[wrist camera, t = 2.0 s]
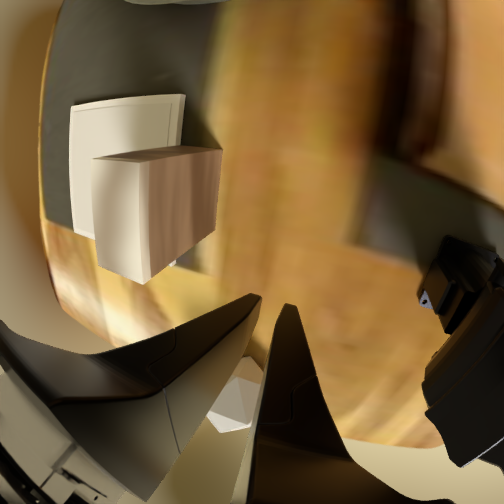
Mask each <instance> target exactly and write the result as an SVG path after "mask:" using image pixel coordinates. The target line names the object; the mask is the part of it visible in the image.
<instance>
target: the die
mask: <svg viewBox="0 0 504 504" xmlns="http://www.w3.org/2000/svg"><path fill="white" fill-rule="evenodd" d="M262 377H263V371H262V370H261V369H260V367H259V366H258V365H257V364H256V362H255V361H254V360H253V359H252V357H251V356H249V357H243V358H241V360H240V362H239V363H238V365H237V367H236V368H235V370H234V372H233V373H232V375H231V377H230V378H229V380H228V382H227V383H226V385H225V386H224V388H223V390H222V391H221V393H220V394H219V396H218V398H217V399H216V401H215V402H214V404H213V406H212V407H211V409H210V410H209V412H208V413H207V415H206V416H207V417H208V419H209V420H210V421H211V422H212V424H213V425H214V426H215V427H216V429H217V430H218V431H219V432H220V433H223V432H228V431H233V430H238V429H242V428H247V427H251V424H252V419H253V415H254V411H255V407H256V403H257V399H258V394H259V390H260V386H261V381H262Z"/></svg>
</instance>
